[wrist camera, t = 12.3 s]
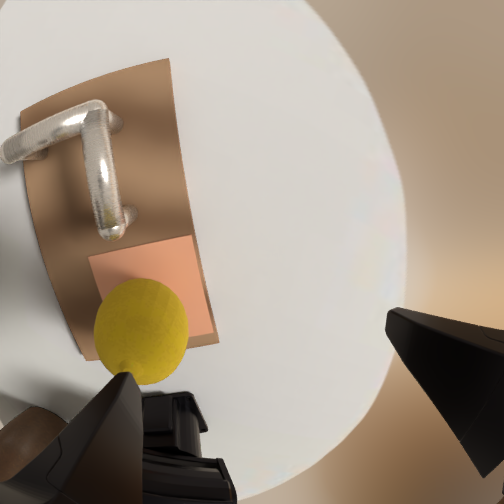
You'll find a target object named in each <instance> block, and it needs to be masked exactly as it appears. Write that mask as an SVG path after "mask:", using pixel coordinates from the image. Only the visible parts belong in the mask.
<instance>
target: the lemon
mask: <svg viewBox="0 0 504 504" xmlns="http://www.w3.org/2000/svg"><path fill="white" fill-rule="evenodd" d="M188 337H189V331H188V318H187V315H186V312H185V309H184V306H183V304H182V303H181V301H180V299H179V298H178V296H177V295H176V294H175V293H174V292H173V291H172V290H171V289H170V288H169V287H167V286H165V285H164V284H162V283H161V282H158V281H155V280H152V279H145V278H138V279H131V280H128V281H126V282H124V283H121V284H119V285H118V286H116V287H115V288H114V289H113V290H112V291H111V292H109V293H108V295H107V296H106V297H105V299H104V300H103V302H102V304H101V305H100V307H99V309H98V312H97V316H96V320H95V325H94V342H95V348H96V351H97V353H98V356H99V358H100V360H101V362H102V363H103V364H104V366H105V367H106V368H107V369H108V370H109V371H110V372H111V373H112V374H113V375H114V376H115V375H116V374H117V373H119V372H127V371H129V372H131V374H132V375H133V377H134V379H135V381H136V383H137V385H148V384H154V383H157V382H159V381H161V380H164V379H165V378H167V377H168V376H169V375H170V374H172V373H173V372H174V371H175V369H176V368H177V366H178V365H179V363H180V362H181V360H182V358H183V356H184V353H185V350H186V346H187V342H188Z"/></svg>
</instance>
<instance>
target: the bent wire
mask: <svg viewBox="0 0 504 504" xmlns="http://www.w3.org/2000/svg"><path fill="white" fill-rule="evenodd" d="M123 125H124V122H123V120H122V118H120V117H119V116H117V115H116V114H114V113H113V112H111V111H110V110H108V107H107V105H106V104H105V103H104V102H103V101H101V100H97V99H95V100H91V101H88V102H85V103H82V104H80V105H77V106H75V107H72V108H69V109H67V110H65V111H62V112H60V113H58V114H55V115H53V116H51V117H49V118H46V119H44V120H42V121H40V122H38V123H36V124H34V125H32V126H30V127H28V128H26V129H24V130H22V131H20V132H18V133H17V134H15V135H13V136H11V137H9V138H8V139H6V140H5V141H4V142H3V144H2V145H1V148H0V158H1V160H2V161H3V162H4V163H6V164H12V163H14V162H16V161H18V160H43V159H45V158H46V157H47V155H48V151H49V149H48V146H51V145H53V144H56V143H58V142H60V141H63V140H65V139H68V138H71V137H73V136H76V135H79V134H81V141H82V150H83V157H84V164H85V171H86V177H87V183H88V189H89V194H90V199H91V204H92V209H93V213H94V218H95V222H96V226H97V230H98V233H99V235H100V236H101V237H102V238H103V239H104V240H106V241H116V240H118V239H120V238H121V237H122V236H123V234H124V233H125V230H126V228H127V227H128V226H129V225H130V224H131V223H133V222H134V221H135V220H136V219H137V217H138V210H137V208H136V207H135V206H134V205H131V204H128V205H125V206H122V201H121V196H120V191H119V186H118V180H117V174H116V168H115V162H114V155H113V148H112V140H111V134H117V133H119V132H120V131H121V130H122V128H123Z"/></svg>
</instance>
